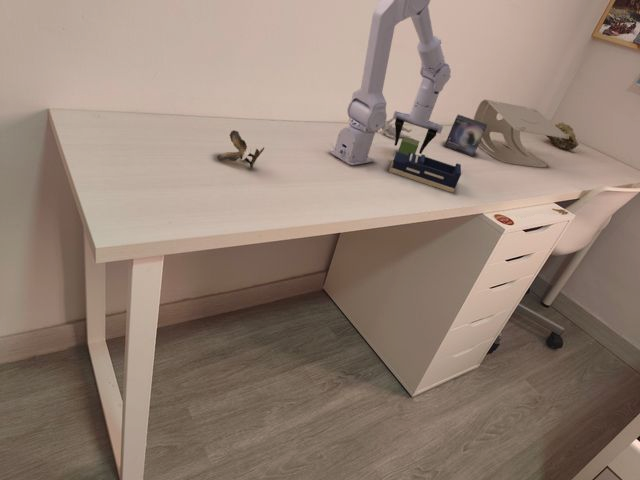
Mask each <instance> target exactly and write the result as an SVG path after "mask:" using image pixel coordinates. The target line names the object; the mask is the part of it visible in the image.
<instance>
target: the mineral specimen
mask: <svg viewBox="0 0 640 480" xmlns="http://www.w3.org/2000/svg"><path fill="white" fill-rule="evenodd" d="M554 125H555V126H556V127H557V128H558V129H560V130H561V131H562V132H563V133H564V134H569V135H570V136H569V139H565V138H559V137H553V136H547V135H545V136H546V137H547V139H548V140H549V141H550V142H551V143H553V144H554V145H555V146H556V147H557V148H560V149H565V150H574V149H576V148H577V147H578V146H579V144H580V143H578V141H577V139H576V134H575V132H574V129H573V128H572V127H571V126H570V125H568V124H566V123H564V122H563V121H561V122H558V124H554Z"/></svg>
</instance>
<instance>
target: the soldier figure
mask: <svg viewBox="0 0 640 480" xmlns="http://www.w3.org/2000/svg"><path fill="white" fill-rule="evenodd" d="M394 120H395V119H392V118H390V119H388V120H386V122H385V124H384V125H383V127H382V128H381V130H382V132H383V134H384V135H385V136H386V137H389V138H391V139H395V138H396V129H395V126H393V124H391V123H392V122H393V121H394ZM401 131H404V132H406V133H411V132H412V128H410V129H408V128H406V127H404V126H403V127H402V130H401ZM403 136H404V137H408V138H411V137H412V136H411V135H407V134H404V133H403V132H401V133H400V136H399V137H401V138H403Z"/></svg>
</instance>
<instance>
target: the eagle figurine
mask: <svg viewBox="0 0 640 480" xmlns="http://www.w3.org/2000/svg"><path fill="white" fill-rule="evenodd" d="M229 138H230V141H231V143H232V144H233V146H234V147H235V148H236V149H237V150H238V151H226V152H224V153H221V154H218V155H217V156H216V158H217V160H219V161H223V160H224V161H225V160H228V161H231V162H236V161H238V160H239V159H240V160H241V161H242V162H243V161H245V162H246V163H248V164H249V167H250V170H253V168H254V164H255V162H256V161H257V159H258V158H259V156H260V155H262V153H263V152H264V150H265V147H264V146H263V147H262V148H261V149H260V150H259V149H258V148H256V149H255V151H254V154H253V153H252V152H251V148H248V146H247V143H246V141H245V140H244V139H242V136H241V135H240V132H239V131H238V130H234V129H233V130H231V132H230V134H229ZM248 157H251V160H250V159H249V158H248Z"/></svg>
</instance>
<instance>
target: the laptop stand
mask: <svg viewBox="0 0 640 480" xmlns="http://www.w3.org/2000/svg"><path fill="white" fill-rule="evenodd" d="M498 115H499V116H501V119H498V118H497V117H498ZM472 119H473V120H476V121H479V122H481V123H484V124H487V127H486V130H485V132H484V134H483V136H482V138H481V141H480V143H479V145H478V147H479V148H480V149H481V150H482V151H484V152H485V153H486V154H488V155H490V156H491V157H493V158H494V159H495V160H498V161H500V162H503V163H506V164H507V163H508V164H512V165H513V164H514V165H518V166H525V167H535V168H546V167H547V164H546V163H545V162H544V161H542V160H540V159H539V158H537V157H535V156H534V155H532V154H531V153H530V152H529V150H527V149H526V148H525V146H524V145H523V143H522V141H521V132H522V133H523V132H524V133H527V134H528V133H529V134H534V135H541V136H546V135H547V136H553V137H559V138H565V139H569V136H570V135H569V134H564V133H563V132H562V131H561V130H560V129H558V128H557V127H556V126H555V125H556V124H554V123H552V122H551V120H549V119H548V118H547V117H546V116H545V115H544V114H542V113H541V112H539V111H538V110H537V109H536V108H533V107H528V106H527V107H526V106H522V105H517V104H511V103H507V102H502V101H497V100H496V101H495V100H491V99H483V100H481V101H480V103H479V104H478V106H477V109H476V111H475V113H474V116H473V118H472ZM491 133H498V134H501V135H502V136H503V139H504V142H505V143H506V145H507V146H508V147H507V146H505V145H504V144H502V143H500V142H499V141H496V140H495V141H494V140H492V138H491V136H490V134H491ZM547 136H546V137H547Z"/></svg>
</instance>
